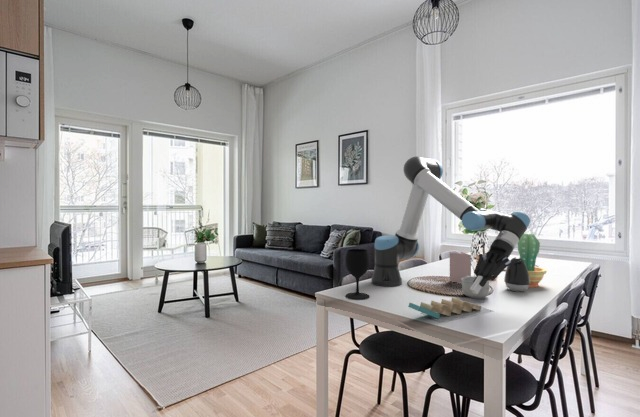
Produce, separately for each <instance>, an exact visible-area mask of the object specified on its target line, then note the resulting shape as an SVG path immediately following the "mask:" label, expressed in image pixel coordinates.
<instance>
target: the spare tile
mask: <svg viewBox="0 0 640 417" xmlns="http://www.w3.org/2000/svg"><path fill="white" fill-rule="evenodd" d="M408 307H409V308H410V309H413V310H415V311H417V312H419V313H425V314H428V315H430V316H433V317H436V318H438V319H439V317H440V314H438V313H436V312H433V311H430V310H428V309H425V308H423V307H420V305H418V304H414V303H413V302H409V303H408Z"/></svg>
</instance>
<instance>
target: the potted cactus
mask: <svg viewBox="0 0 640 417" xmlns="http://www.w3.org/2000/svg"><path fill="white" fill-rule="evenodd" d="M540 243H541V242H540V240H539V239H538V238H537V236H536V235H535V234H532V233H524V234H523V235H522V237H521V238H520V240H519V242H518V243H517V251H518V254H519V258H521V259H522V260H523V261H524V262H525V264H526V267H527V270H528V273H529V278H530V284H529V287H528V288H537V287H539V284H540V282H541V281H542V280H543V279H544V276H545V275H546V274H547V269H546V268H543V267H542V268H541V267H537V266H536V262H537V256H538V254H539V253H540V245H541V244H540Z"/></svg>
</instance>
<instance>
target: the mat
mask: <svg viewBox="0 0 640 417" xmlns="http://www.w3.org/2000/svg"><path fill="white" fill-rule="evenodd" d="M433 312H434V311H433ZM492 312H494V310H492V309H489V308H487V307H483V306H482V307H481V311H480V310H476V309H473V308H472V310H471V312H467V311H464V310H462V311H461V314H457V313H454V312H452V313H451V316H447V315H444V314H440V313H438V314H440V317H439V319H438V318H436V317H433V316H430V315H428V314H425V313H422V312H420V314H421V315H423V316H426V317H428V318H431V319H433V320H435V321H437V322H440V323H443V322H447V321H453V320H457V319H461V318H462V319H464V318H467V317H472V316H477V315H482V314H486V313H487V314H488V313H492ZM436 313H437V312H436Z"/></svg>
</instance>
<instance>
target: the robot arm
mask: <svg viewBox="0 0 640 417" xmlns="http://www.w3.org/2000/svg"><path fill="white" fill-rule="evenodd" d="M403 173H404V176H405V178H406V179H407V181H409V182H410V184H411V186H412V187H411V190H410V193H409V197H408V201H407V203H406V207H405V210H404V214H403V218H402V220H401V224H400V228H399V229H397V230H396V231H395V234H394V235H390V234H389V235H381V236H377V237H376V238H375V240H374V246H373V247H374V268H373V272H372V276H371V279H370V280H371V282H370V283H371V284H373V285H375V286H380V287H397V286H401V285H403V279H402V277H401V273H400V269H399V261H402V260H409V259H411V258H414V257H415V256H417V254H418V253H419V251H420V244H419V241H418V240H419V236H418V234H417V233H418V230H419V227H420V222H421V220H422V216H423V214H424V213H423V212H424V209H425V206H426V203H427V201H428V200H427V199H428V196H429V195H430V196H431V197H432V198H433V199H434V200H436V201H437V202H439V203H440V204H441V205H442V206H443V207H445V208H446V209H447V210H448V211H449V212H450V213H452V214H453V215H454V216H456V217H457V218H458V219H459V220H460V221H461V222H462V223H461V224H462V225H463V227H464V228H465V229H466V230H468V231H474V232H477V231H483V230H493V231H496V232H499V233H497V236H496V237H495V239H494V240H493V241H492V243H491V245H490V246H489V250H488V251H487V252H486V253H485V254H482V253H479V255H478V260H477V263H476V266H475V268H474V271H473V273H474V274H475V276H476V278H475V279H474V281H473V285H472V286H471V288H470V290H471V291H472V292H473V293H474V294H478V292H479V291H480V289H481V288H482V287H483V286H484V285H485V284H486V282H487V281H489V282H490V280H491V281H495V280H496V279H497V277H499V275H500V274H501V273H502V272H504V271H505V269H507V266H509V265H510V264H511V262H510V260H511V259H509V257H510V256H511V254H512V253H513V251H514V250H515V249H516V247H517V246H518V242H519V240H520V238H521V237H522V235H523V234H525V233H526V231H527V230H528V227H529V226H530V223H531V218H530V217H529V215H527V214H526V213H524V212H523V211H519V210H518V211H513V212H512V213H511V214H510V215H509V214H506V213H501V212H498V211H494V210H491V209H486V208H479V209H478V208H477V207H475V206H474V205H473V204H472V203H470V202H469V201H468V200H466V199H465V198H464V197H462V196H461V195H460V194H459V193H458V192H456V191H455V190H453V189H452V188H450V186H449V185H447V184H446V183H445V182H443V180H441V178H442V177H443V173H444V170H443V166H442V164H441V162H440V161H439V160H437V159H435V158H432V157H424V156H423V157H422V156H412V157H410V158H409V159H407V160H406V161H405V163H404V165H403Z"/></svg>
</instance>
